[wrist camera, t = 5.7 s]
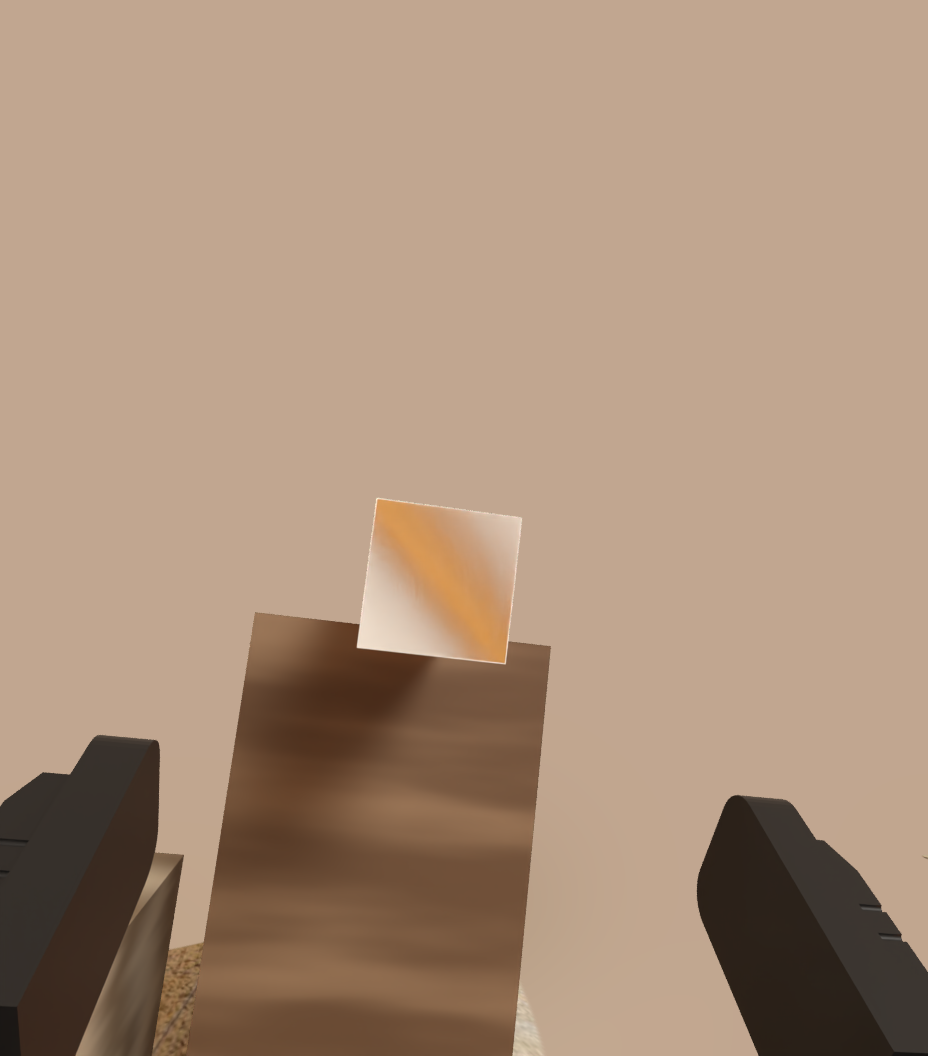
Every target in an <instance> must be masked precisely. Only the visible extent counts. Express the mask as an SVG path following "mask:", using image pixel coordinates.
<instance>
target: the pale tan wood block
mask: <svg viewBox="0 0 928 1056" xmlns="http://www.w3.org/2000/svg"><path fill="white" fill-rule="evenodd" d="M521 524H522V518H521V517H513V516H506V515H499V514H492V513H484V512H476V511H470V510H462V509H455V508H447V507H440V506H433V505H425V504H418V503H410V502H403V501H396V500H389V499H381V498H377V500H376V507H375V514H374V522H373V529H372V537H371V545H370V552H369V559H368V567H367V575H366V582H365V589H364V597H363V604H362V613H361V620H360V627H359V634H358V642H357V648H363V649H372V650H381V651H390V652H399V653H408V654H417V655H426V656H435V657H444V658H453V659H462V660H471V661H480V662H489V663H498V664H506V657H507V648H508V639H509V630H510V621H511V612H512V603H513V594H514V585H515V577H516V568H517V559H518V550H519V541H520V532H521Z"/></svg>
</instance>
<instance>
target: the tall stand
mask: <svg viewBox="0 0 928 1056" xmlns="http://www.w3.org/2000/svg"><path fill="white" fill-rule="evenodd" d="M359 627H360V624H352V623H343V622H335V621H326V620H317V619H309V618H300V617H290V616H282V615H274V614H265V613H255V616H254V623H253V629H252V636H251V642H250V649H249V655H248V662H247V668H246V675H245V681H244V687H243V695H242V700H241V707H240V713H239V720H238V726H237V732H236V739H235V745H234V752H233V758H232V765H231V771H230V778H229V785H228V790H227V797H226V804H225V810H224V816H223V823H222V829H221V836H220V842H219V849H218V855H217V861H216V868H215V875H214V881H213V887H212V894H211V900H210V907H209V913H208V920H207V926H206V933H205V939H204V945H203V951H202V958H201V964H200V971H199V977H198V984H197V990H196V997H195V1003H194V1009H193V1016H192V1022H191V1029H190V1035H189V1042H188V1048H187V1055H186V1056H512V1053H513V1042H514V1032H515V1021H516V1011H517V1000H518V989H519V979H520V968H521V956H522V947H523V936H524V926H525V925H524V924H525V915H526V904H527V893H528V883H529V872H530V862H531V851H532V839H533V830H534V819H535V808H536V798H537V788H538V777H539V766H540V756H541V744H542V734H543V724H544V712H545V702H546V692H547V681H548V671H549V659H550V649H551V648H550V646H543V645H535V644H526V643H517V642H509V641H508V648H507V657H506V664H498V663H489V662H480V661H471V660H462V659H453V658H444V657H435V656H426V655H417V654H408V653H399V652H390V651H381V650H372V649H363V648H357V642H358V634H359Z"/></svg>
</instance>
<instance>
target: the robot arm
mask: <svg viewBox="0 0 928 1056" xmlns="http://www.w3.org/2000/svg"><path fill="white" fill-rule="evenodd" d="M159 767H160V749H159V743H158V741H156V740H148V739H137V738H127V737H115V736H105V735H97V736H96V737H94V739H93V740H92V741H91V742H90V744H89V745H88V747H87V748H86V750H85V752H84V754H83V755H82V756H81V758H80V760H79V761H78V763H77V764H76V766H75V768H74V769H73V771H72V772H71V774H70V775H67V774H55V773H44V772H43V773H42V774H40V775H39V776H38V777H36V778H35V779H33V780H32V781H31V782H29V783H28V784H27V785H25V786H24V787H22V788H21V789H20V790H18V791H17V792H16V793H14V794H13V795H12V796H10V797H9V798H8V799H6V800H5V801H4V802H3V803H2V805H1V806H0V1056H76V1053H77V1051H78V1048H79V1046H80V1043H81V1041H82V1038H83V1036H84V1033H85V1031H86V1028H87V1026H88V1024H89V1021H90V1019H91V1016H92V1014H93V1011H94V1009H95V1006H96V1004H97V1001H98V999H99V996H100V994H101V992H102V989H103V987H104V984H105V982H106V979H107V977H108V974H109V972H110V969H111V967H112V964H113V962H114V959H115V957H116V955H117V952H118V950H119V947H120V945H121V942H122V940H123V937H124V935H125V932H126V930H127V927H128V925H129V923H130V920H131V918H132V915H133V913H134V910H135V908H136V905H137V903H138V900H139V898H140V895H141V893H142V890H143V888H144V886H145V883H146V880H147V878H148V875H149V872H150V869H151V865H152V861H153V857H154V853H155V848H156V842H157V835H158V813H159V810H158V809H159ZM697 882H698V883H697V901H698V908H699V912H700V916H701V919H702V922H703V924H704V927H705V929H706V931H707V934H708V936H709V939H710V941H711V943H712V946H713V948H714V951H715V953H716V955H717V958H718V960H719V962H720V965H721V967H722V969H723V972H724V974H725V977H726V979H727V981H728V984H729V986H730V989H731V991H732V993H733V996H734V998H735V1000H736V1003H737V1005H738V1007H739V1010H740V1012H741V1015H742V1017H743V1019H744V1022H745V1024H746V1026H747V1029H748V1031H749V1034H750V1036H751V1039H752V1041H753V1043H754V1046H755V1048H756V1050H757V1053H758V1055H759V1056H928V972H927V970H926V969H925V967H924V966H923V965H922V963H921V962H920V960H919V959H918V957H917V956H916V954H915V953H914V952H913V950H912V949H911V947H910V946H909V944H908V943H907V942H903V941H902V939H901V935H902V934H901V933H900V931H899V930H898V929H897V927H896V926H895V924H894V923H893V921H892V920H891V918H890V917H889V916H888V914H887V913H886V912H882V910H881V904H880V903H879V901H878V900H877V898H876V897H875V895H874V894H873V893H872V891H871V890H870V888H869V887H868V885H867V884H866V883H865V881H864V880H863V878H862V877H861V876H860V874H859V873H858V871H857V870H856V869H855V868H854V867H852V866H851V865H850V864H849V863H848V862H847V861H846V860H845V859H843V857H841V856H840V855H839V854H838V853H837V852H836V851H835V850H834V849H832V848H831V847H830V846H829V845H828V844H827V843H826V842H825V841H822V840H816V839H815V837H814V836H813V834H812V833H811V831H810V830H809V828H808V827H807V825H806V824H805V822H804V821H803V819H802V818H801V816H800V815H799V813H798V811H797V810H796V809H795V807H794V806H793V805H792V804H791V803H789V802H788V801H786V800H783V799H773V798H761V797H751V796H740V795H735V796H732V797H731V798H730V799H728V801H727V802H726V804H725V806H724V809H723V811H722V814H721V816H720V819H719V822H718V824H717V827H716V829H715V832H714V835H713V837H712V840H711V843H710V845H709V848H708V850H707V853H706V856H705V858H704V861H703V864H702V866H701V869H700V872H699V876H698V881H697Z"/></svg>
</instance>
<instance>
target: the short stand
mask: <svg viewBox="0 0 928 1056" xmlns="http://www.w3.org/2000/svg"><path fill="white" fill-rule="evenodd" d="M183 857H184V855H178V854H166V853H154V857H153V861H152V865H151V869H150V872H149V875H148V878H147V880H146V883H145V886H144V888H143V890H142V893H141V895H140V898H139V900H138V903H137V905H136V908H135V910H134V913H133V915H132V918H131V920H130V923H129V925H128V927H127V930H126V932H125V935H124V937H123V940H122V942H121V945H120V947H119V950H118V952H117V955H116V957H115V959H114V962H113V964H112V967H111V969H110V972H109V974H108V977H107V979H106V982H105V984H104V987H103V989H102V992H101V994H100V996H99V999H98V1001H97V1004H96V1006H95V1009H94V1011H93V1014H92V1016H91V1019H90V1021H89V1024H88V1026H87V1028H86V1031H85V1033H84V1036H83V1038H82V1041H81V1043H80V1046H79V1048H78V1051H77V1053H76V1056H151V1055H152V1049H153V1043H154V1037H155V1030H156V1024H157V1018H158V1012H159V1006H160V1000H161V993H162V987H163V981H164V975H165V969H166V962H167V956H168V950H169V944H170V938H171V931H172V925H173V919H174V913H175V907H176V901H177V894H178V888H179V882H180V875H181V870H182V862H183Z"/></svg>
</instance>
